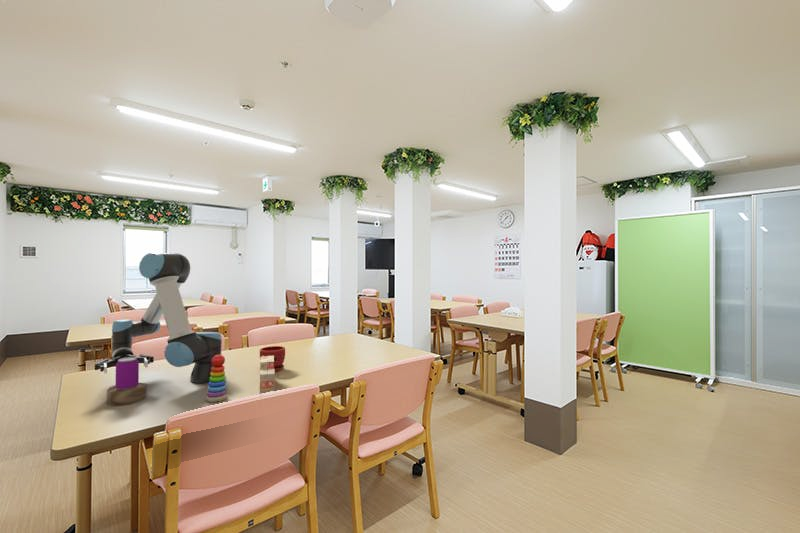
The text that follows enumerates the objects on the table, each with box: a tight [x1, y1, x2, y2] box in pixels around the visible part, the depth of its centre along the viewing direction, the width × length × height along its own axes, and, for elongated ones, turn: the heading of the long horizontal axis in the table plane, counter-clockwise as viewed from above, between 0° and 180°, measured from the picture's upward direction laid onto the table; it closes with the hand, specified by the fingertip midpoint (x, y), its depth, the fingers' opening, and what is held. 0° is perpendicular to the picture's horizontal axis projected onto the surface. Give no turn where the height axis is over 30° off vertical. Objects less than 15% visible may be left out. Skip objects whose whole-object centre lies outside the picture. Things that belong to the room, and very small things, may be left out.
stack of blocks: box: [259, 356, 276, 395], centre depth 167 cm, size 21×6×12 cm, turn 21°
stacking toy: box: [205, 354, 228, 403], centre depth 151 cm, size 8×8×19 cm
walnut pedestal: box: [106, 382, 147, 407], centre depth 149 cm, size 13×13×5 cm
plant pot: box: [259, 345, 286, 373], centre depth 193 cm, size 13×13×12 cm
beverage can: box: [115, 356, 140, 390], centre depth 149 cm, size 8×8×12 cm
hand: (126, 367), depth 148 cm, fingers open, 13 cm apart
